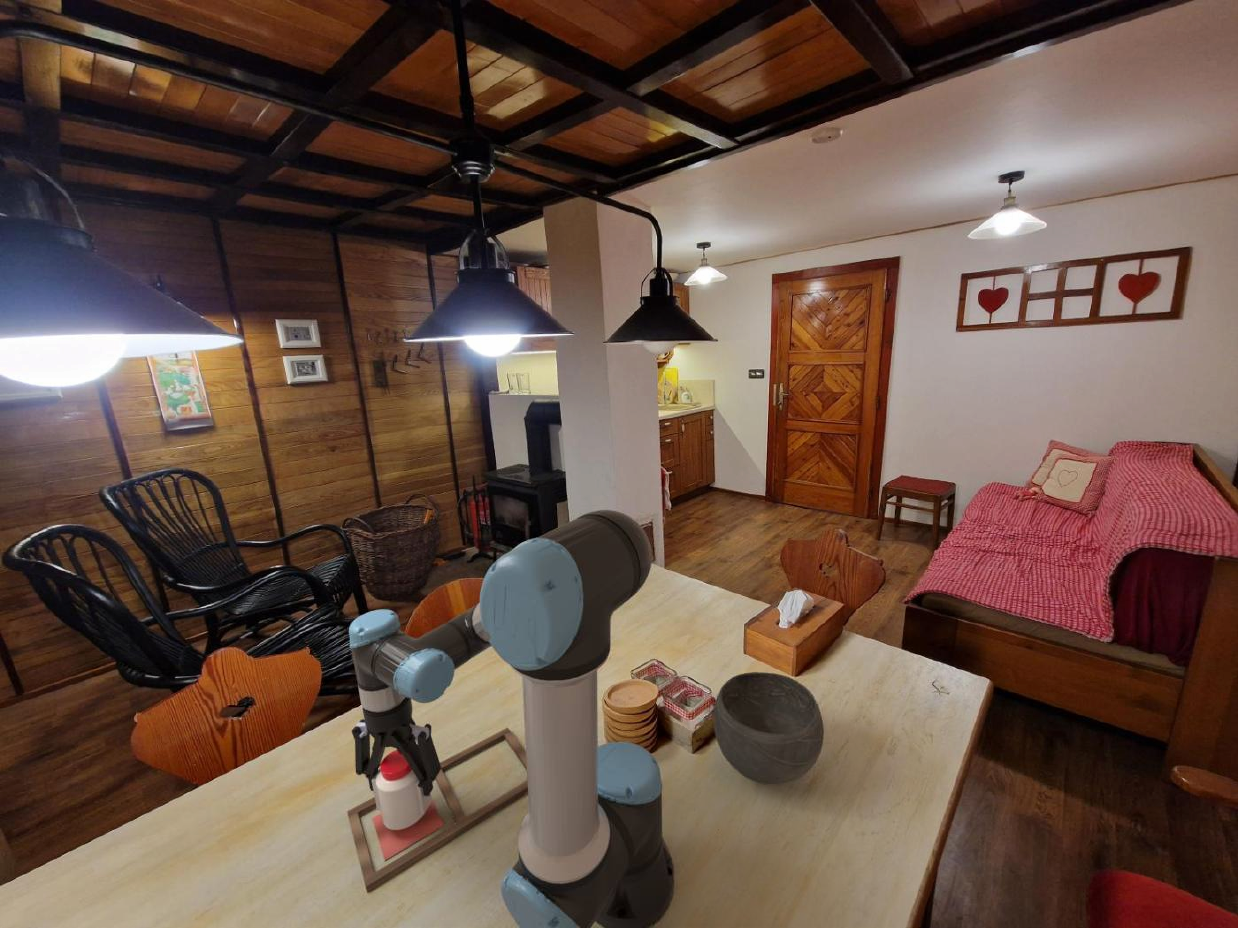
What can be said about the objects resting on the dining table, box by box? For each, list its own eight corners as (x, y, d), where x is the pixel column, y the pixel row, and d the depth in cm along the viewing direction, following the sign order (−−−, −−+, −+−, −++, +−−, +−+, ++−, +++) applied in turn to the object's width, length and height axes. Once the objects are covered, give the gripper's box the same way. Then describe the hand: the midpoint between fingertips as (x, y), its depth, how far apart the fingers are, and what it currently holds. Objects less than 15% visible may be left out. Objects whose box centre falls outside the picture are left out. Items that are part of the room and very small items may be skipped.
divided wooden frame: (544, 781, 98) (544, 776, 98) (367, 892, 79) (365, 886, 79) (508, 731, 112) (507, 727, 111) (348, 816, 93) (347, 811, 92)
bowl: (826, 744, 105) (830, 682, 101) (812, 829, 87) (817, 758, 83) (729, 713, 115) (730, 656, 111) (699, 783, 97) (699, 718, 93)
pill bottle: (411, 833, 86) (403, 782, 83) (372, 826, 88) (363, 775, 85) (436, 794, 93) (428, 746, 91) (400, 788, 95) (391, 740, 92)
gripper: (452, 686, 87) (466, 791, 92) (346, 680, 90) (365, 782, 95) (431, 718, 80) (447, 830, 85) (316, 709, 82) (339, 818, 88)
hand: (404, 804), depth 90 cm, fingers closed on pill bottle, 8 cm apart
